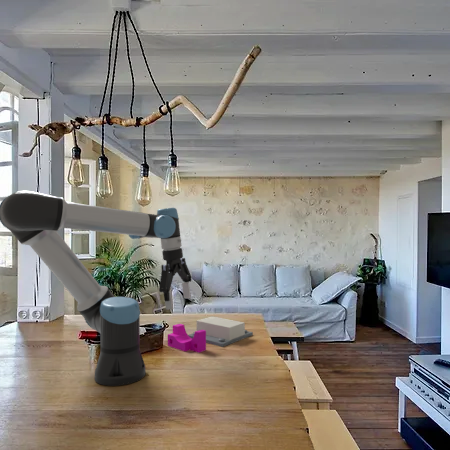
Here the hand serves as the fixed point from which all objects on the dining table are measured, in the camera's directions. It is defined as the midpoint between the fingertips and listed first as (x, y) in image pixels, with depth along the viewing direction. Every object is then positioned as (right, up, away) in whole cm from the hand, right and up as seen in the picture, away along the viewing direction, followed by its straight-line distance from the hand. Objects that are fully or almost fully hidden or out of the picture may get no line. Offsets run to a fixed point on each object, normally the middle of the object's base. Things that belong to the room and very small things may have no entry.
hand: (178, 303), depth 142 cm
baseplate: (+16, -17, +14) cm, 27 cm away
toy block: (+3, -17, 0) cm, 17 cm away
